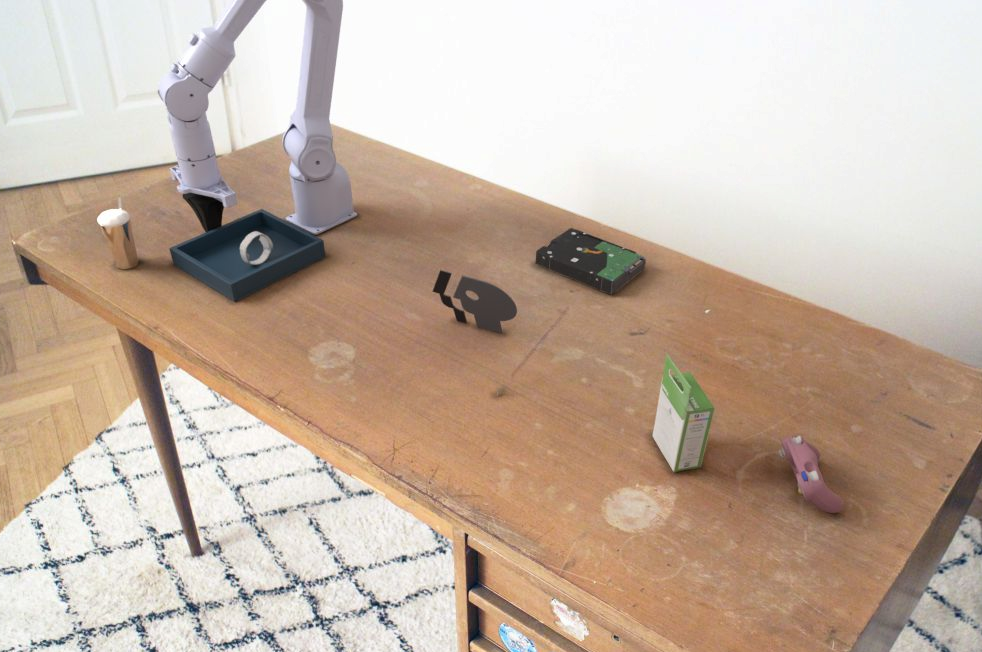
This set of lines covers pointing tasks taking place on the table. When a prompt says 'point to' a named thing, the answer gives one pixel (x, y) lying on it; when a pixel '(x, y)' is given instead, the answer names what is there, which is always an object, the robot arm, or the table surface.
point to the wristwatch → (265, 242)
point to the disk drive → (590, 260)
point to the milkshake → (119, 236)
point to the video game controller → (809, 474)
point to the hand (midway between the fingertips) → (213, 232)
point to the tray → (222, 262)
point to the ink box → (682, 419)
